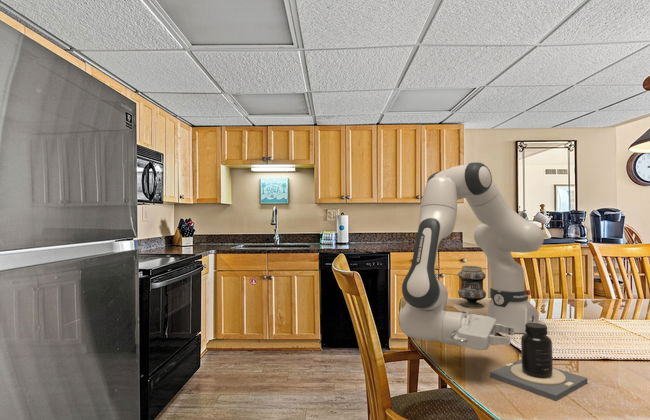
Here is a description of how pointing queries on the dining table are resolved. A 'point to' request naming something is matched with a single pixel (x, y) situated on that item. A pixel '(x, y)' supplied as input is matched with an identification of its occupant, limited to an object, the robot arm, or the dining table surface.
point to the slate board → (540, 381)
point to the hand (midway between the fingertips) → (511, 336)
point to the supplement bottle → (536, 351)
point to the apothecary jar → (472, 286)
